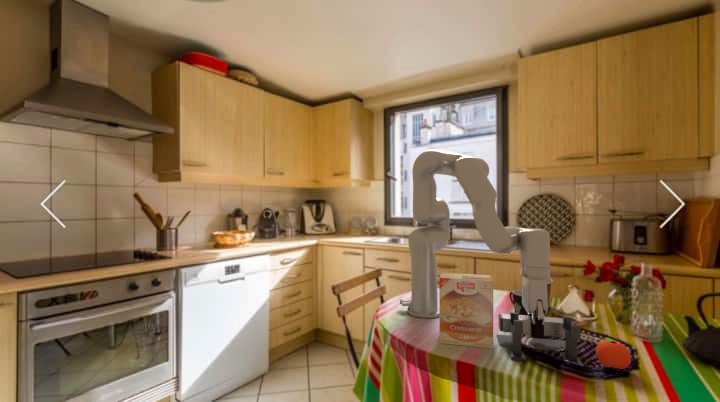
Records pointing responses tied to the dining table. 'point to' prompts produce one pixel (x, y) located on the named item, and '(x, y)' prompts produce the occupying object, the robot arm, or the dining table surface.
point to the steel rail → (550, 325)
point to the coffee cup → (549, 288)
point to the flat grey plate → (534, 343)
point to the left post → (516, 338)
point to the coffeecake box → (466, 309)
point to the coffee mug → (518, 302)
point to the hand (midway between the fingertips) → (535, 333)
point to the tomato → (613, 354)
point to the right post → (570, 340)
